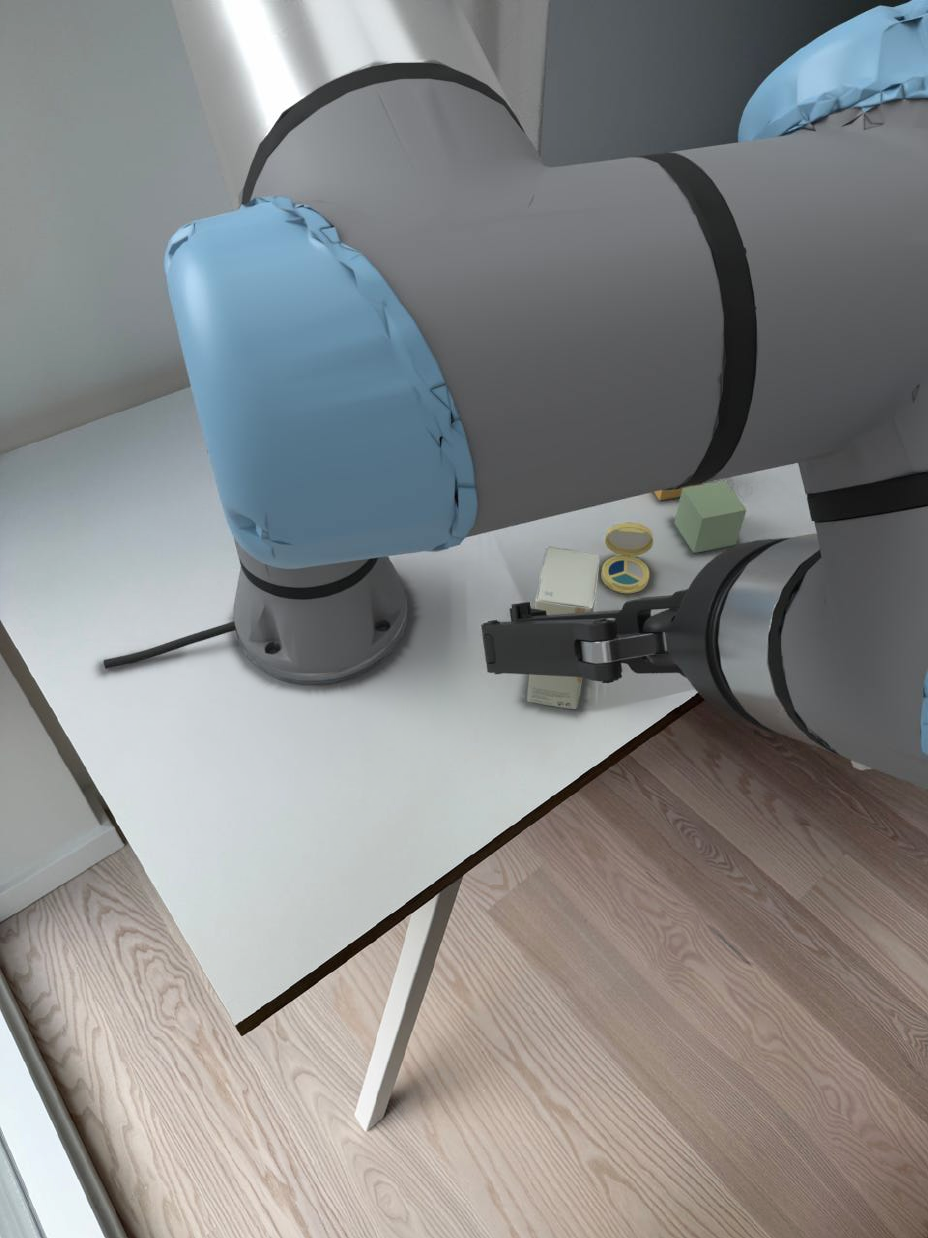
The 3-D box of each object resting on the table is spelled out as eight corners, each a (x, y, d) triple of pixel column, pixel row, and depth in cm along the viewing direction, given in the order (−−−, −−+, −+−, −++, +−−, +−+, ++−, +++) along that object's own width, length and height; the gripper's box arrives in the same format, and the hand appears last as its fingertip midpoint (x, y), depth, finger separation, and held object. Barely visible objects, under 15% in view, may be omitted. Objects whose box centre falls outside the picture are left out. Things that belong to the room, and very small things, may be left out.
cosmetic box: (577, 712, 73) (593, 612, 64) (525, 703, 74) (533, 603, 65) (586, 652, 77) (602, 551, 68) (536, 645, 78) (546, 543, 69)
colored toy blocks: (693, 553, 86) (702, 518, 82) (587, 389, 104) (592, 355, 101) (735, 544, 87) (746, 509, 83) (623, 383, 105) (629, 349, 101)
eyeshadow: (600, 590, 82) (606, 552, 79) (602, 553, 86) (608, 514, 82) (648, 595, 82) (657, 557, 78) (648, 557, 85) (656, 519, 82)
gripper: (491, 792, 32) (433, 706, 53) (1117, 687, 35) (826, 645, 56) (463, 582, 31) (415, 580, 52) (1100, 495, 34) (813, 526, 55)
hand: (627, 613), depth 54 cm, fingers open, 13 cm apart
